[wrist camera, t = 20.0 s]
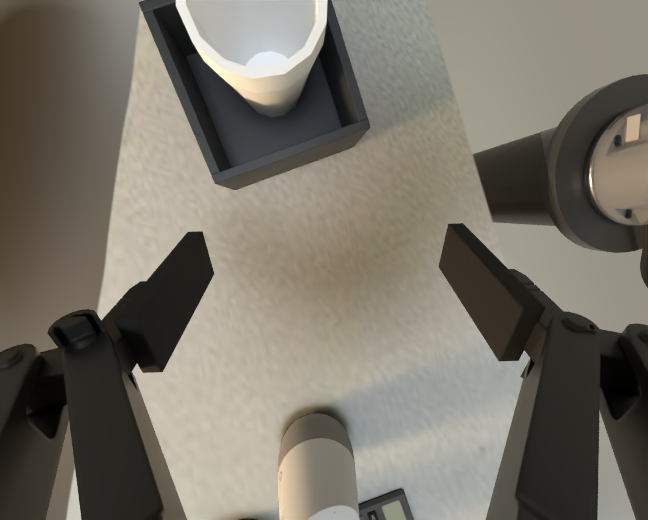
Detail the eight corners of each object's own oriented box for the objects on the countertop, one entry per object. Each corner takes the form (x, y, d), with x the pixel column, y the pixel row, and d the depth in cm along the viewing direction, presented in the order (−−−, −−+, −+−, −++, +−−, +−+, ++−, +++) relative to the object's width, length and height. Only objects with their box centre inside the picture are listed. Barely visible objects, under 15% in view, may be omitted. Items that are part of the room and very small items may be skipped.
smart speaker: (334, 471, 41) (354, 605, 27) (271, 458, 39) (257, 591, 26) (357, 413, 39) (389, 522, 26) (292, 397, 38) (289, 503, 24)
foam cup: (328, 113, 32) (349, 46, 19) (251, 146, 31) (219, 101, 19) (293, 21, 30) (290, -121, 17) (210, 56, 30) (145, -62, 17)
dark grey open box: (353, 146, 33) (370, 127, 26) (234, 190, 33) (214, 183, 25) (309, 10, 31) (313, -59, 23) (179, 56, 30) (137, 1, 22)
